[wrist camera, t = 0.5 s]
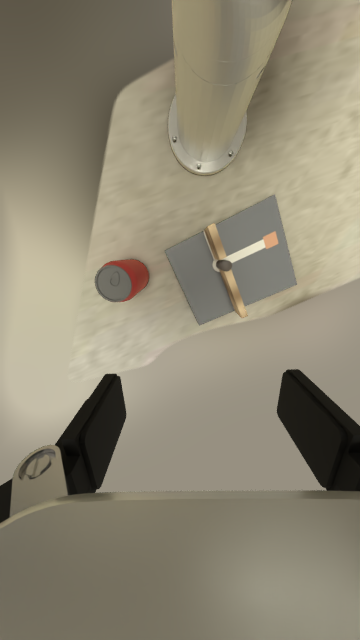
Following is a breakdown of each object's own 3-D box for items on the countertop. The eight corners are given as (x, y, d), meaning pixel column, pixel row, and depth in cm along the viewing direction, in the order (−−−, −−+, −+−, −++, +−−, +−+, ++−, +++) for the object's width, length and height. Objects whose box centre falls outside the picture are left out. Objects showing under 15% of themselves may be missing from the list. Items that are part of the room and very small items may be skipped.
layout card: (165, 250, 36) (164, 250, 35) (272, 196, 33) (275, 194, 32) (198, 323, 41) (199, 325, 40) (294, 283, 38) (297, 284, 37)
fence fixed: (203, 230, 34) (207, 226, 29) (209, 227, 34) (214, 222, 28) (214, 259, 36) (220, 260, 30) (220, 256, 35) (226, 257, 30)
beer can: (153, 267, 37) (140, 272, 26) (143, 295, 39) (127, 311, 28) (123, 253, 36) (97, 253, 25) (114, 283, 39) (86, 295, 27)
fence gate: (214, 262, 35) (219, 263, 30) (223, 257, 35) (229, 258, 30) (233, 311, 39) (241, 319, 34) (241, 307, 38) (250, 316, 33)
